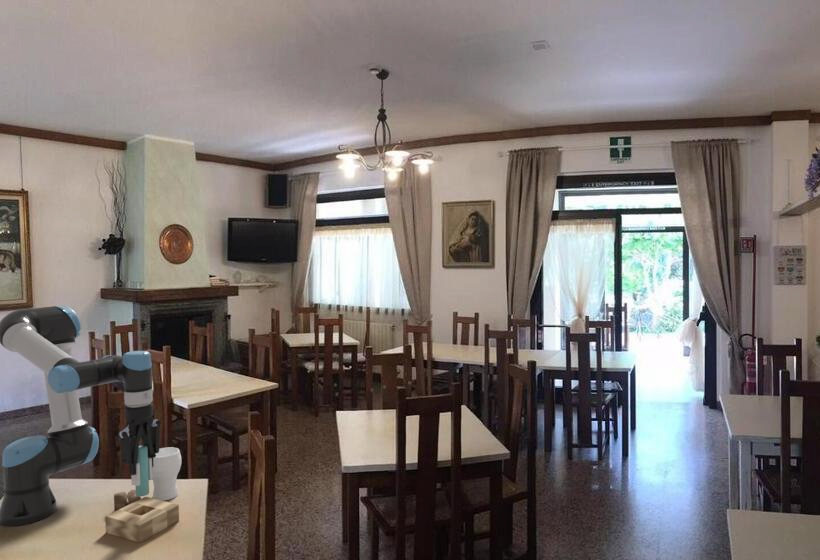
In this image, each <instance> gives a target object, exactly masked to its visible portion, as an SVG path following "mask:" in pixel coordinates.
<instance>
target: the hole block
mask: <svg viewBox="0 0 820 560" xmlns="http://www.w3.org/2000/svg"><path fill="white" fill-rule="evenodd" d="M179 508H180V507H179V504H177V503H173V502H168V501H166V500H165V501H161V500H157V499H153V497H148V496H143V497H142V498H141V499H140V500H138V501H136V502H134V503H132V504H130V505H129V504H127V506H125V507H123V508H121V509H119V510H117V511H113V512H111V513H108V514H107V515H105V518H104V519H105V520H104V521H105V533H106V534H109V535H112V536H116V537H119V538H123V539H126V540H129V541H134V542H135V543H143V541H145V540H148V539H149V538H151V537H153V536H154V535H156V534H158V533H159V532H161V531H163V530H166V529H167V528H169V527H171V526H173V525H174V524H176V523H177V522H179V521H180V512H179V510H180V509H179Z"/></svg>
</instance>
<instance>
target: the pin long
mask: <svg viewBox="0 0 820 560" xmlns="http://www.w3.org/2000/svg"><path fill="white" fill-rule="evenodd" d="M137 463H140V485H139V486H136V485H135V490H136V496H140V497H146V496H148V495H149V494H150V480H149V473H148V448H147V446H145V445H143V444H142V445H139V448H138V457H137Z"/></svg>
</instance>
